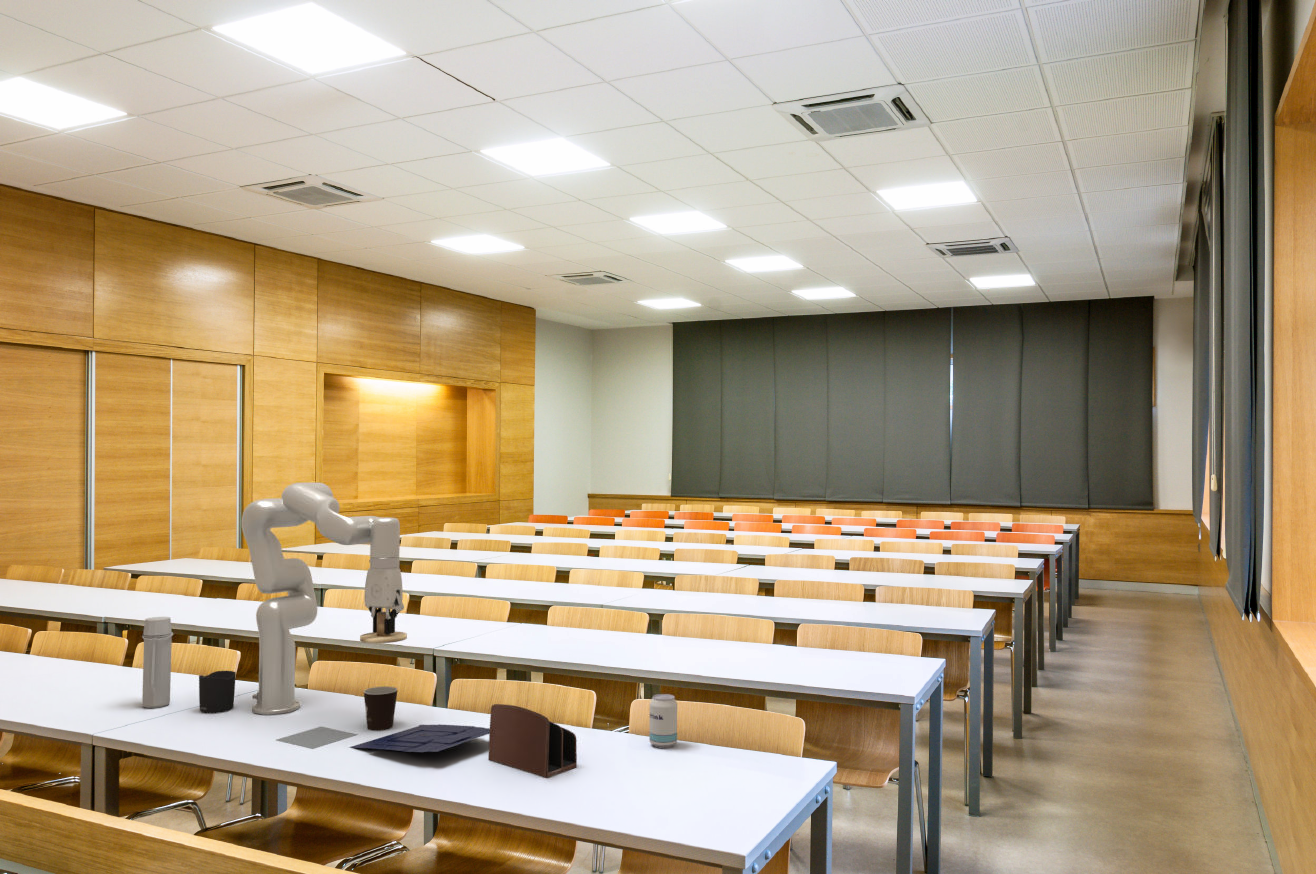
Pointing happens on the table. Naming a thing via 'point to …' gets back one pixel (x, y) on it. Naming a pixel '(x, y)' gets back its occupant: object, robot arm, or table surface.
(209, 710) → the pen holder
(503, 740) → the letter holder
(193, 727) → the table surface
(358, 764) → the table surface
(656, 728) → the beverage can
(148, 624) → the water bottle
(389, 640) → the lid
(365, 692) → the coffee mug
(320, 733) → the mat
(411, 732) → the dark blue tray
